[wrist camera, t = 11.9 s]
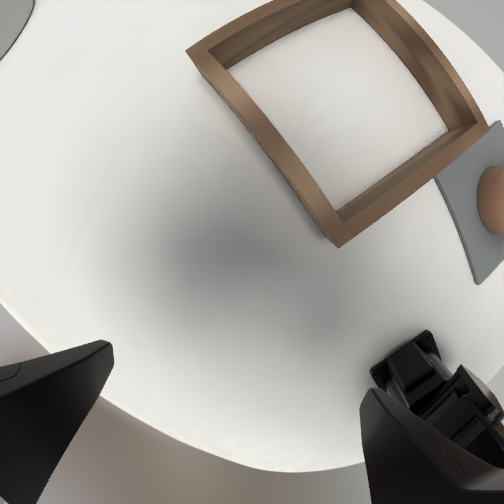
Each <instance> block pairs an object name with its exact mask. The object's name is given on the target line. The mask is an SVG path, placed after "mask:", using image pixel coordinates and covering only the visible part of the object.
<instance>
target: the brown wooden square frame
mask: <svg viewBox="0 0 504 504" xmlns="http://www.w3.org/2000/svg"><path fill="white" fill-rule="evenodd" d="M349 7H351V8H353V9H354V10H355V11H356V12H357V13H358V14H359V15H360V16H361V17H362V18H363V19H364V20H365V21H366V22H367V23H368V24H369V25H370V26H371V27H372V28H373V29H374V30H375V31H376V32H377V33H378V34H379V35H380V36H381V37H382V38H383V39H384V41H385V42H386V43H387V44H388V45H389V46H390V47H391V48H392V50H393V51H394V52H395V53H396V54H397V56H398V57H399V58H400V59H401V60H402V62H403V63H404V64H405V65H406V67H407V68H408V69H409V70H410V72H411V73H412V74H413V76H414V77H415V78H416V80H417V81H418V83H419V84H420V85H421V87H422V88H423V90H424V91H425V92H426V94H427V95H428V97H429V98H430V100H431V101H432V103H433V105H434V106H435V108H436V109H437V111H438V112H439V114H440V116H441V117H442V119H443V121H444V122H445V124H446V126H447V128H448V129H449V131H447V132H446V133H444V134H443V135H442V136H440V137H439V138H438V139H436V140H435V141H434V142H432V143H431V144H430V145H428V146H427V147H425V148H424V149H423V150H421V151H420V152H419V153H417V154H416V155H415V156H413V157H412V158H410V159H409V160H408V161H406V162H405V163H404V164H402V165H401V166H399V167H398V168H397V169H395V170H394V171H392V172H391V173H390V174H388V175H387V176H386V177H384V178H383V179H381V180H380V181H379V182H377V183H376V184H374V185H373V186H372V187H370V188H369V189H367V190H366V191H365V192H363V193H362V194H360V195H359V196H358V197H356V198H355V199H353V200H352V201H351V202H349V203H348V204H346V205H345V206H343V207H342V208H341V209H339V210H338V211H336V212H335V210H334V209H333V207H332V206H331V204H330V203H329V201H328V200H327V198H326V197H325V195H324V194H323V192H322V191H321V189H320V188H319V186H318V185H317V183H316V182H315V181H314V179H313V178H312V176H311V175H310V174H309V172H308V171H307V169H306V168H305V167H304V165H303V164H302V162H301V161H300V160H299V158H298V157H297V156H296V154H295V153H294V152H293V150H292V149H291V148H290V146H289V145H288V144H287V142H286V141H285V140H284V138H283V137H282V136H281V135H280V133H279V132H278V131H277V130H276V128H275V127H274V126H273V124H272V123H271V122H270V121H269V119H268V118H267V117H266V116H265V115H264V113H263V112H262V111H261V110H260V109H259V107H258V106H257V105H256V104H255V103H254V101H253V100H252V99H251V98H250V97H249V95H248V94H247V93H246V92H245V91H244V90H243V89H242V87H241V86H240V85H239V84H238V83H237V82H236V81H235V80H234V78H233V77H232V76H231V75H230V74H229V73H228V72H227V71H226V70H227V69H228V68H230V67H231V66H233V65H234V64H236V63H238V62H239V61H241V60H242V59H244V58H246V57H247V56H249V55H251V54H252V53H254V52H256V51H257V50H259V49H261V48H263V47H264V46H266V45H268V44H270V43H272V42H273V41H275V40H277V39H279V38H281V37H283V36H285V35H287V34H289V33H291V32H293V31H295V30H297V29H299V28H301V27H303V26H305V25H308V24H310V23H312V22H314V21H317V20H319V19H321V18H324V17H326V16H328V15H331V14H333V13H336V12H339V11H341V10H344V9H347V8H349ZM185 51H186V53H187V54H188V56H189V57H190V59H191V60H192V61H193V63H194V64H195V66H196V67H197V69H198V70H199V72H200V73H201V74H202V76H203V77H204V78H205V79H206V80H207V81H208V82H209V84H210V85H211V86H212V87H213V88H214V89H215V90H216V92H217V93H218V94H219V95H220V96H221V98H222V99H223V100H224V101H225V102H226V103H227V105H228V106H229V107H230V108H231V109H232V111H233V112H234V113H235V114H236V116H237V117H238V118H239V119H240V120H241V122H242V123H243V124H244V125H245V127H246V128H247V129H248V130H249V132H250V133H251V134H252V135H253V137H254V138H255V139H256V141H257V142H258V143H259V144H260V146H261V147H262V148H263V150H264V151H265V152H266V154H267V155H268V156H269V157H270V159H271V160H272V161H273V163H274V164H275V165H276V167H277V168H278V170H279V171H280V172H281V174H282V175H283V176H284V178H285V179H286V180H287V182H288V183H289V185H290V186H291V187H292V189H293V190H294V192H295V193H296V194H297V196H298V197H299V199H300V200H301V201H302V203H303V204H304V206H305V207H306V209H307V210H308V212H309V213H310V214H311V216H312V217H313V219H314V220H315V222H316V223H317V225H318V226H319V228H320V229H321V231H322V232H323V234H324V235H325V237H326V238H327V239H329V240H330V241H331V242H332V243H333V244H334V245H335V246H336V247H337V248H339V247H341V246H342V245H344V244H345V243H347V242H348V241H349V240H351V239H352V238H354V237H355V236H356V235H358V234H359V233H361V232H362V231H363V230H365V229H366V228H367V227H369V226H370V225H372V224H373V223H374V222H376V221H377V220H378V219H380V218H381V217H382V216H384V215H385V214H387V213H388V212H389V211H391V210H392V209H393V208H395V207H396V206H397V205H399V204H400V203H401V202H402V201H404V200H405V199H406V198H408V197H409V196H410V195H412V194H413V193H414V192H415V191H417V190H418V189H419V188H421V187H422V186H423V185H424V184H426V183H427V182H428V181H430V180H431V179H432V178H433V177H435V176H436V175H437V174H438V173H440V172H441V171H442V170H443V169H445V168H446V167H447V166H448V165H449V164H451V163H452V162H453V161H454V160H456V159H457V158H458V157H459V156H460V155H462V154H463V153H464V152H465V151H466V150H468V149H469V148H470V147H471V146H472V145H473V144H475V143H476V142H477V141H478V140H479V139H480V138H482V137H483V136H484V135H485V134H486V133H487V132H488V131H490V128H489V126H488V124H487V122H486V120H485V118H484V117H483V115H482V113H481V111H480V109H479V107H478V106H477V104H476V102H475V100H474V99H473V97H472V95H471V94H470V92H469V90H468V89H467V87H466V85H465V84H464V82H463V81H462V79H461V78H460V76H459V75H458V73H457V72H456V70H455V69H454V67H453V66H452V65H451V63H450V62H449V60H448V59H447V58H446V56H445V55H444V54H443V52H442V51H441V50H440V49H439V47H438V46H437V45H436V44H435V42H434V41H433V40H432V39H431V37H430V36H429V35H428V34H427V33H426V32H425V30H424V29H423V28H422V27H421V26H420V25H419V24H418V23H417V21H416V20H415V19H414V18H413V17H412V16H411V15H410V14H409V13H408V12H407V11H406V10H405V9H404V8H403V7H402V6H401V5H400V4H399V3H398V2H397V1H396V0H273V1H271V2H269V3H266V4H264V5H262V6H260V7H258V8H256V9H254V10H252V11H250V12H248V13H246V14H244V15H242V16H240V17H239V18H237V19H235V20H233V21H231V22H230V23H228V24H226V25H224V26H223V27H221V28H219V29H218V30H216V31H214V32H213V33H211V34H209V35H208V36H206V37H205V38H203V39H202V40H200V41H199V42H197V43H196V44H194V45H193V46H191V47H190V48H188V49H187V50H185Z"/></svg>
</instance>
